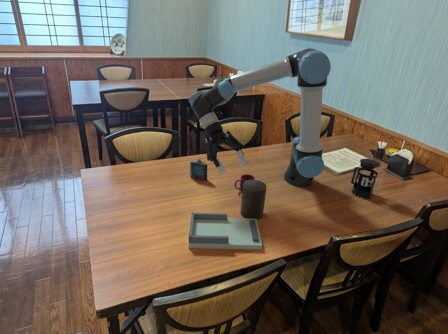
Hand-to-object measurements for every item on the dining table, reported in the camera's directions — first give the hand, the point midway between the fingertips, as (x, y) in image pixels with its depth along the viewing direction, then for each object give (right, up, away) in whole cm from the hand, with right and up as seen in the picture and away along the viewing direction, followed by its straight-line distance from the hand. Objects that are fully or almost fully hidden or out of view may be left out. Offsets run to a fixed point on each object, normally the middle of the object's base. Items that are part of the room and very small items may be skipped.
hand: (234, 168), depth 130 cm
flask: (-17, -5, +27) cm, 32 cm away
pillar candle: (+7, -19, +1) cm, 20 cm away
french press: (+63, -12, +21) cm, 67 cm away
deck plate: (-4, -25, -13) cm, 29 cm away
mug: (+5, -11, +18) cm, 21 cm away
